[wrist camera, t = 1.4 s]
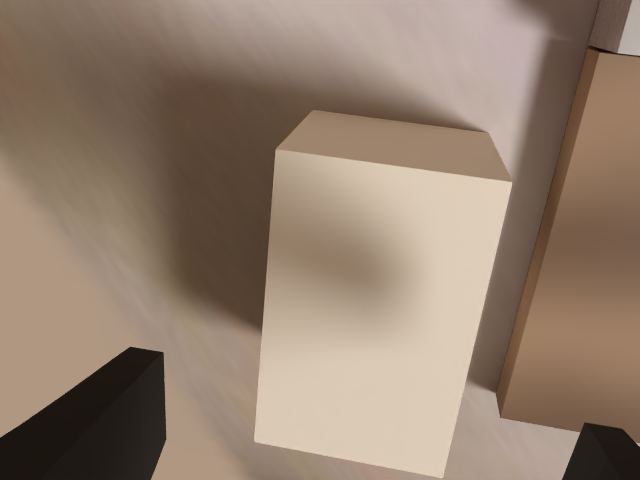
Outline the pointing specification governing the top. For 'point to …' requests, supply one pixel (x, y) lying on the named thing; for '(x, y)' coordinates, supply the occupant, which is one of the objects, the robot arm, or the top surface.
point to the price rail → (617, 26)
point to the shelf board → (585, 268)
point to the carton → (376, 286)
